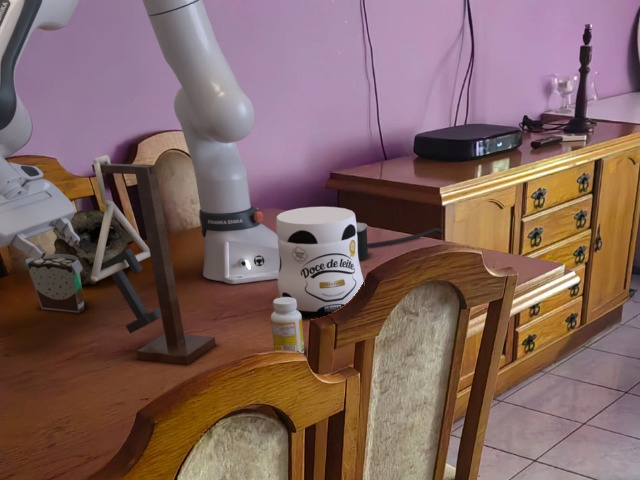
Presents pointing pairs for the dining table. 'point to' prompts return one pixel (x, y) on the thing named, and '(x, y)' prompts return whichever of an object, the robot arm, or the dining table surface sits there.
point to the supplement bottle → (287, 325)
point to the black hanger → (132, 291)
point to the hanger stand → (174, 341)
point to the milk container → (318, 258)
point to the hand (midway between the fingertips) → (59, 249)
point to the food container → (57, 282)
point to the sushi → (362, 241)
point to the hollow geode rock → (91, 241)
